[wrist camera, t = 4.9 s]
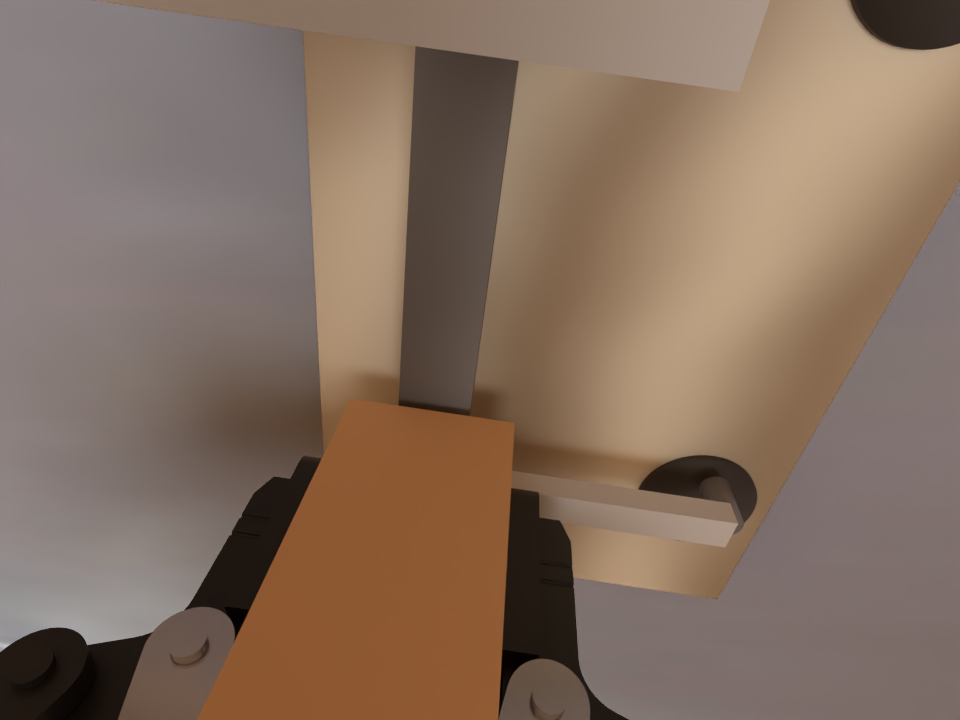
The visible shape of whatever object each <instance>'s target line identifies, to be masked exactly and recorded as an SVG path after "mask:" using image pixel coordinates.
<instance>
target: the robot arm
mask: <svg viewBox="0 0 960 720" xmlns="http://www.w3.org/2000/svg"><path fill="white" fill-rule="evenodd" d="M320 461H321V458H314V457H308V456H304V457H302V459H301V460H300V462H299V463H298V465H297V467H296V469H295V471H294V473H293V475H292V477H291V479H286V478H280V477H273V478H272V479H271V480H269V481H268V482H267V483H266V484H265V485H263V486H262V487H261V488H260V489H259V490H257V491H256V492H255V493H254V494H253V496H252V498H251V499H250V501H249V503H248V505H247V506H246V508H245V510H244V512H243V513H242V517H241V518H240V519H239V520H238V522H237V524H236V525H235V527H234V529H233V531H232V535H230V536H229V538H228V539H227V541H226V543H225V544H224V546H223V548H222V550H221V551H220V553H219V555H218V557H217V558H216V560H215V562H214V564H213V565H212V567H211V569H210V570H209V572H208V574H207V576H206V577H205V579H204V581H203V583H202V584H201V586H200V588H199V589H198V591H197V593H196V595H195V596H194V598H193V600H192V601H191V603H190V604H189V606H188V607H187V608H186V609H185V610H184V611H181V612H179V613H177V614H175V615H173V616H171V617H170V618H168V619H167V620H165V621H164V622H163V623H161V624H160V625H159V626H158V627H157V628H156V629H155V630H154V632H152V633H149V634H146V635H143V636H139V637H134V638H129V639H123V640H116V641H110V642H104V643H98V644H92V645H87V644H86V642H85V640H84V638H83V637H82V636H81V635H80V634H79V633H78V632H76V631H74V630H71V629H67V628H49V629H44V630H40V631H37V632H34V633H31V634H29V635H27V636H25V637H22V638H21V639H19V640H17V641H15V642H14V643H12V644H11V645H9V646H8V647H7V648H5V649H4V650H3V651H1V652H0V720H197V719H198V717H199V715H200V713H201V711H202V709H203V707H204V705H205V703H206V700H207V698H208V696H209V694H210V692H211V690H212V688H213V686H214V684H215V682H216V679H217V677H218V675H219V673H220V671H221V669H222V667H223V665H224V663H225V661H226V658H227V656H228V654H229V652H230V650H231V648H232V646H233V644H234V642H235V640H236V637H237V635H238V633H239V631H240V629H241V627H242V625H243V623H244V621H245V619H246V616H247V614H248V612H249V610H250V608H251V606H252V604H253V602H254V600H255V598H256V596H257V593H258V591H259V589H260V587H261V585H262V583H263V581H264V579H265V577H266V575H267V572H268V570H269V568H270V566H271V564H272V562H273V560H274V558H275V556H276V554H277V551H278V549H279V547H280V545H281V543H282V541H283V539H284V537H285V535H286V533H287V530H288V528H289V526H290V524H291V522H292V520H293V518H294V516H295V514H296V512H297V509H298V507H299V505H300V503H301V501H302V499H303V497H304V495H305V493H306V491H307V488H308V486H309V484H310V482H311V480H312V478H313V476H314V474H315V472H316V470H317V467H318V465H319V463H320ZM573 584H574V581H573V569H572V549H571V541H570V539H569V537H568V535H567V533H566V531H565V529H564V527H563V525H562V523H561V521H560V520H553V519H547V518H540V517H539V492H535V491H529V490H522V489H516V488H511V498H510V516H509V534H508V552H507V570H506V588H505V606H504V625H503V643H502V661H501V679H500V697H499V715H498V720H628V719H626V718H625V717H623V716H621V715H619V714H617V713H615V712H614V711H612V710H610V709H609V708H607V707H606V706H605V705H604V704H602V703H601V702H600V701H599V700H598V699H597V698H596V697H595V696H594V694H593V693H592V692H591V690H590V689H589V688H588V686H587V684H586V682H585V681H584V678H583V676H582V674H581V670H580V667H579V660H578V646H577V630H576V614H575V598H574V588H573Z"/></svg>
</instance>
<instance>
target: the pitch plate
mask: <svg viewBox="0 0 960 720" xmlns="http://www.w3.org/2000/svg"><path fill="white" fill-rule="evenodd" d="M93 1H100V2H107V3H114V4H121V5H128V6H135V7H142V8H149V9H156V10H163V11H171V12H178V13H185V14H192V15H199V16H206V17H213V18H220V19H227V20H234V21H241V22H248V23H255V24H262V25H269V26H277V27H284V28H291V29H298V30H303V39H304V60H305V81H306V102H307V122H308V143H309V164H310V185H311V205H312V226H313V247H314V268H315V289H316V309H317V330H318V351H319V372H320V392H321V413H322V434H323V455H324V453H325V451H326V449H327V446H328V444H329V442H330V440H331V438H332V436H333V434H334V432H335V430H336V428H337V426H338V423H339V421H340V419H341V417H342V415H343V413H344V411H345V409H346V407H347V405H348V402H349V400H350V399H357V400H364V401H371V402H377V403H384V404H391V405H398V406H404V407H411V408H418V409H425V410H431V411H438V412H445V413H452V414H458V415H465V416H472V417H479V418H485V419H492V420H499V421H506V422H512V423H515V426H514V444H513V462H512V471H517V472H524V473H530V474H537V475H544V476H551V477H557V478H564V479H571V480H577V481H584V482H591V483H598V484H604V485H611V486H618V487H624V488H631V489H638V490H645V491H651V492H658V493H665V494H671V495H678V496H685V497H692V498H698V499H702V497H701V494H700V491H699V486H700V484H701V482H702V481H704V480H705V479H707V478H710V477H721V478H724V479H726V480H727V482H728V483H729V486H730V488H731V491H732V494H733V496H734V499H735V501H736V504H737V506H738V509H739V511H740V514H741V516H742V519H743V521H744V527H743V528H742V530H741V531H739V532H738V533H736V534H733V535H732V536H731V538H730V540H729V542H728V543H727V545H726V547H719V546H713V545H706V544H699V543H693V542H686V541H679V540H672V539H666V538H659V537H652V536H646V535H639V534H632V533H626V532H619V531H612V530H606V529H599V528H592V527H586V526H579V525H572V524H566V523H562V525H563V527H564V529H565V531H566V533H567V535H568V537H569V539H570V541H571V549H572V569H573V578H579V579H586V580H593V581H599V582H606V583H613V584H619V585H626V586H633V587H639V588H646V589H652V590H659V591H666V592H672V593H679V594H686V595H692V596H699V597H706V598H712V599H718V597H719V595H720V593H721V592H722V590H723V588H724V587H725V585H726V583H727V581H728V580H729V578H730V576H731V574H732V573H733V571H734V569H735V568H736V566H737V564H738V562H739V561H740V559H741V557H742V556H743V554H744V552H745V550H746V549H747V547H748V545H749V543H750V542H751V540H752V538H753V537H754V535H755V533H756V531H757V530H758V528H759V526H760V525H761V523H762V521H763V519H764V518H765V516H766V514H767V512H768V511H769V509H770V507H771V506H772V504H773V502H774V500H775V499H776V497H777V495H778V494H779V492H780V490H781V488H782V487H783V485H784V483H785V482H786V480H787V478H788V476H789V475H790V473H791V471H792V469H793V468H794V466H795V464H796V463H797V461H798V459H799V457H800V456H801V454H802V452H803V451H804V449H805V447H806V445H807V444H808V442H809V440H810V438H811V437H812V435H813V433H814V432H815V430H816V428H817V426H818V425H819V423H820V421H821V420H822V418H823V416H824V414H825V413H826V411H827V409H828V407H829V406H830V404H831V402H832V401H833V399H834V397H835V395H836V394H837V392H838V390H839V389H840V387H841V385H842V383H843V382H844V380H845V378H846V377H847V375H848V373H849V371H850V370H851V368H852V366H853V364H854V363H855V361H856V359H857V358H858V356H859V354H860V352H861V351H862V349H863V347H864V346H865V344H866V342H867V340H868V339H869V337H870V335H871V333H872V332H873V330H874V328H875V327H876V325H877V323H878V321H879V320H880V318H881V316H882V315H883V313H884V311H885V309H886V308H887V306H888V304H889V302H890V301H891V299H892V297H893V296H894V294H895V292H896V290H897V289H898V287H899V285H900V284H901V282H902V280H903V278H904V277H905V275H906V273H907V272H908V270H909V268H910V266H911V265H912V263H913V261H914V259H915V258H916V256H917V254H918V253H919V251H920V249H921V247H922V246H923V244H924V242H925V241H926V239H927V237H928V235H929V234H930V232H931V230H932V228H933V227H934V225H935V223H936V222H937V220H938V218H939V216H940V215H941V213H942V211H943V210H944V208H945V206H946V204H947V203H948V201H949V199H950V197H951V196H952V194H953V192H954V191H955V189H956V187H957V185H958V184H959V182H960V0H93Z"/></svg>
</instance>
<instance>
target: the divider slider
mask: <svg viewBox="0 0 960 720" xmlns="http://www.w3.org/2000/svg"><path fill="white" fill-rule="evenodd" d="M514 426H515V423H512V422H506V421H499V420H492V419H485V418H479V417H472V416H465V415H458V414H452V413H445V412H438V411H431V410H425V409H418V408H411V407H404V406H398V405H391V404H384V403H377V402H371V401H364V400H357V399H350V400H349V402H348V405H347V407H346V409H345V411H344V413H343V415H342V417H341V419H340V421H339V423H338V426H337V428H336V430H335V432H334V434H333V436H332V438H331V440H330V442H329V444H328V446H327V449H326V451H325V453H324V455H323V457H322V459H321V461H320V463H319V465H318V467H317V470H316V472H315V474H314V476H313V478H312V480H311V482H310V484H309V486H308V488H307V491H306V493H305V495H304V497H303V499H302V501H301V503H300V505H299V507H298V509H297V512H296V514H295V516H294V518H293V520H292V522H291V524H290V526H289V528H288V530H287V533H286V535H285V537H284V539H283V541H282V543H281V545H280V547H279V549H278V551H277V554H276V556H275V558H274V560H273V562H272V564H271V566H270V568H269V570H268V572H267V575H266V577H265V579H264V581H263V583H262V585H261V587H260V589H259V591H258V593H257V596H256V598H255V600H254V602H253V604H252V606H251V608H250V610H249V612H248V614H247V616H246V619H245V621H244V623H243V625H242V627H241V629H240V631H239V633H238V635H237V637H236V640H235V642H234V644H233V646H232V648H231V650H230V652H229V654H228V656H227V658H226V661H225V663H224V665H223V667H222V669H221V671H220V673H219V675H218V677H217V679H216V682H215V684H214V686H213V688H212V690H211V692H210V694H209V696H208V698H207V700H206V703H205V705H204V707H203V709H202V711H201V713H200V715H199V717H198V719H197V720H498V715H499V697H500V679H501V661H502V643H503V625H504V606H505V588H506V570H507V552H508V534H509V516H510V498H511V488H516V489H522V490H529V491H535V492H539V517H540V518H547V519H553V520H560V521H561V523H566V524H572V525H579V526H586V527H592V528H599V529H606V530H612V531H619V532H626V533H632V534H639V535H646V536H652V537H659V538H666V539H672V540H679V541H686V542H693V543H699V544H706V545H713V546H719V547H726V545H727V543H728V542H729V540H730V538H731V536H732V535H733V534H736V533H738V532H739V531H741V530H742V528H743V527H744V521H743V519H742V516H741V514H740V511H739V509H738V506H737V504H736V501H735V499H734V496H733V494H732V491H731V488H730V486H729V483H728V482H727V480H726V479H724V478H721V477H710V478H707V479H705V480H704V481H702V482H701V484H700V486H699V491H700V494H701V497H702V499H698V498H692V497H685V496H678V495H671V494H665V493H658V492H651V491H645V490H638V489H631V488H624V487H618V486H611V485H604V484H598V483H591V482H584V481H577V480H571V479H564V478H557V477H551V476H544V475H537V474H530V473H524V472H517V471H512V462H513V444H514Z"/></svg>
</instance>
